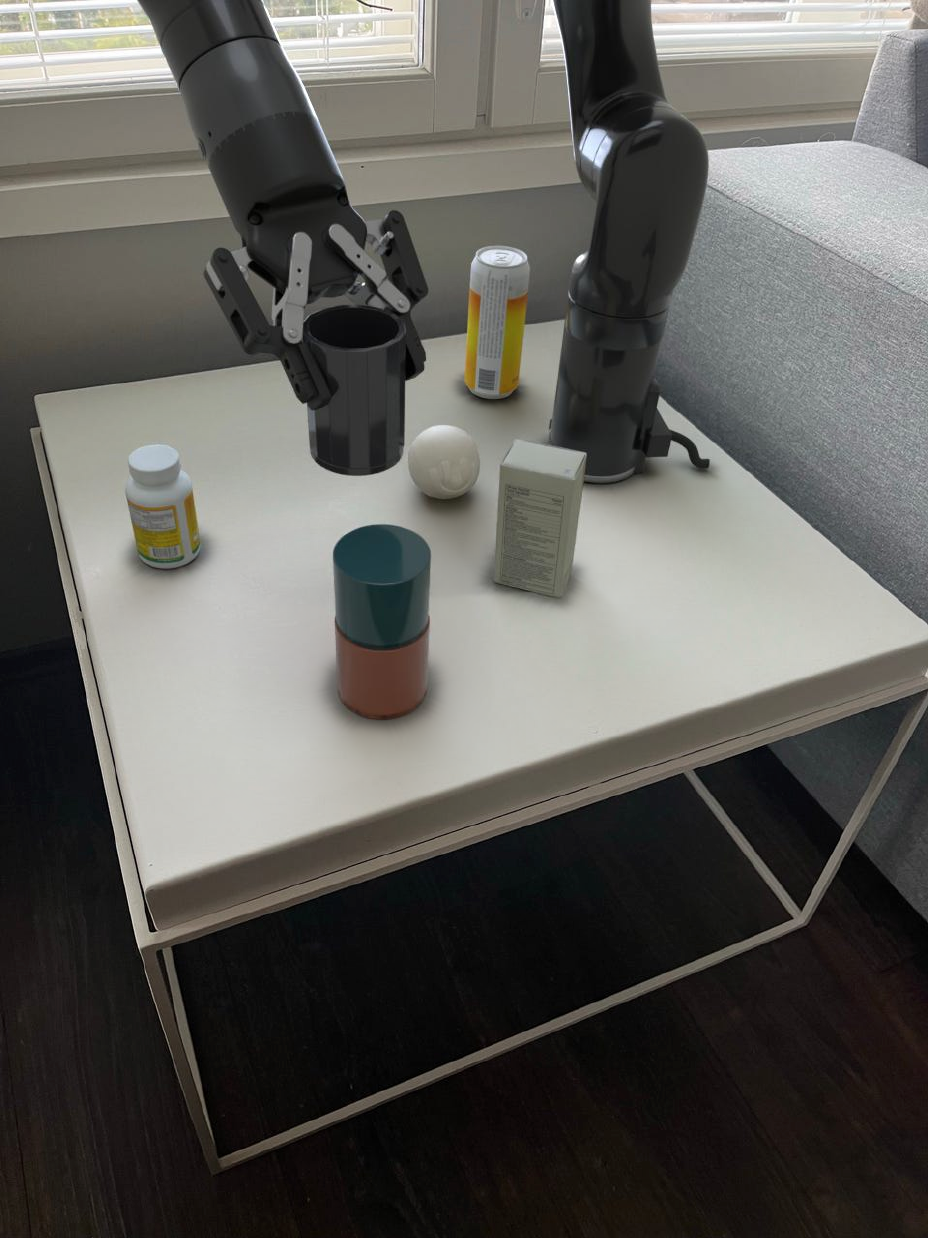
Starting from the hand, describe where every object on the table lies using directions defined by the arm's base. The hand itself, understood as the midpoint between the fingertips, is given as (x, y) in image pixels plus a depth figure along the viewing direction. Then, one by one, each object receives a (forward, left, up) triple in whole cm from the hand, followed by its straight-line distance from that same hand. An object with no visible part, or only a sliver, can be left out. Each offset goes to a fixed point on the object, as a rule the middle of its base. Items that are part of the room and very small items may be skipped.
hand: (369, 389), depth 62 cm
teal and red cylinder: (0, +5, -23) cm, 23 cm away
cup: (+1, -1, -5) cm, 6 cm away
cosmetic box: (-14, -7, -23) cm, 28 cm away
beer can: (-16, -40, -23) cm, 49 cm away
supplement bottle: (+17, -13, -23) cm, 31 cm away
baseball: (-8, -20, -23) cm, 32 cm away
